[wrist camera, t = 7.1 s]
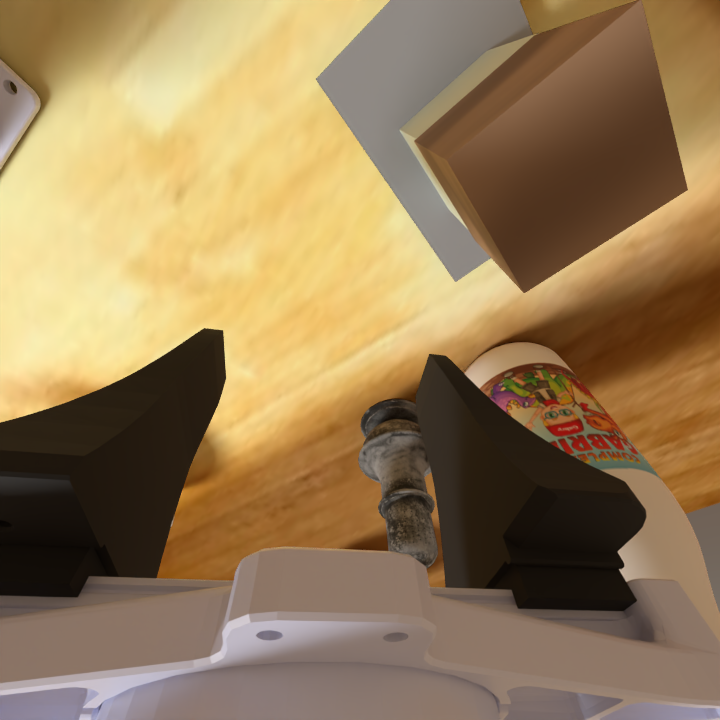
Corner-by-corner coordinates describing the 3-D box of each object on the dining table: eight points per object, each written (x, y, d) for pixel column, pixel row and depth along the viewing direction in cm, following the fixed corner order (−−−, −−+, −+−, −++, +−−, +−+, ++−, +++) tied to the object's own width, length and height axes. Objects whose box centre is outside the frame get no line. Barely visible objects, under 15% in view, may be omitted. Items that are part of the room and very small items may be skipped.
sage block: (399, 129, 17) (416, 139, 13) (486, 50, 15) (537, 32, 11) (448, 209, 19) (477, 239, 15) (530, 146, 18) (586, 161, 13)
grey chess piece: (396, 383, 27) (427, 544, 17) (445, 422, 30) (495, 582, 20) (341, 425, 29) (340, 588, 19) (390, 458, 32) (411, 617, 22)
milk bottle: (570, 396, 28) (877, 798, 12) (474, 432, 30) (627, 820, 14) (549, 319, 24) (968, 768, 8) (440, 367, 26) (599, 806, 10)
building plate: (317, 80, 17) (315, 79, 16) (474, -86, 14) (482, -97, 13) (451, 275, 22) (455, 282, 21) (581, 184, 20) (591, 188, 19)
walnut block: (413, 141, 13) (446, 159, 9) (534, 35, 11) (641, -1, 7) (475, 240, 15) (524, 293, 11) (583, 162, 13) (688, 189, 9)
